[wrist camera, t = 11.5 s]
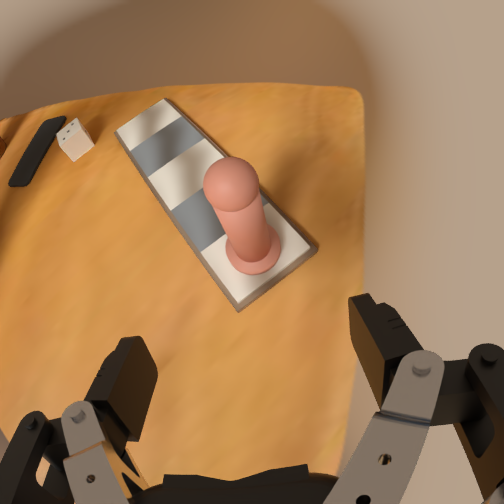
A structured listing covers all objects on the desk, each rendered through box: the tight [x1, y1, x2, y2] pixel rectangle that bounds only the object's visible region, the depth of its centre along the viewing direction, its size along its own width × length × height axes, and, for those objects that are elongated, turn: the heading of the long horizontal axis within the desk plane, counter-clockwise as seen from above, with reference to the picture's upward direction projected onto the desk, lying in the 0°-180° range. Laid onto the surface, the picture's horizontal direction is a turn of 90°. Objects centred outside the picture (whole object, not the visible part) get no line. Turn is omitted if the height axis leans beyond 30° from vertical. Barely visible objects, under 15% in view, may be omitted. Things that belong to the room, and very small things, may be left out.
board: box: [114, 98, 318, 313], centre depth 33 cm, size 9×31×1 cm, turn 37°
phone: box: [8, 116, 66, 187], centre depth 42 cm, size 7×1×15 cm
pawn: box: [203, 157, 281, 275], centre depth 23 cm, size 5×5×12 cm
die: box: [56, 118, 95, 162], centre depth 38 cm, size 4×4×4 cm
